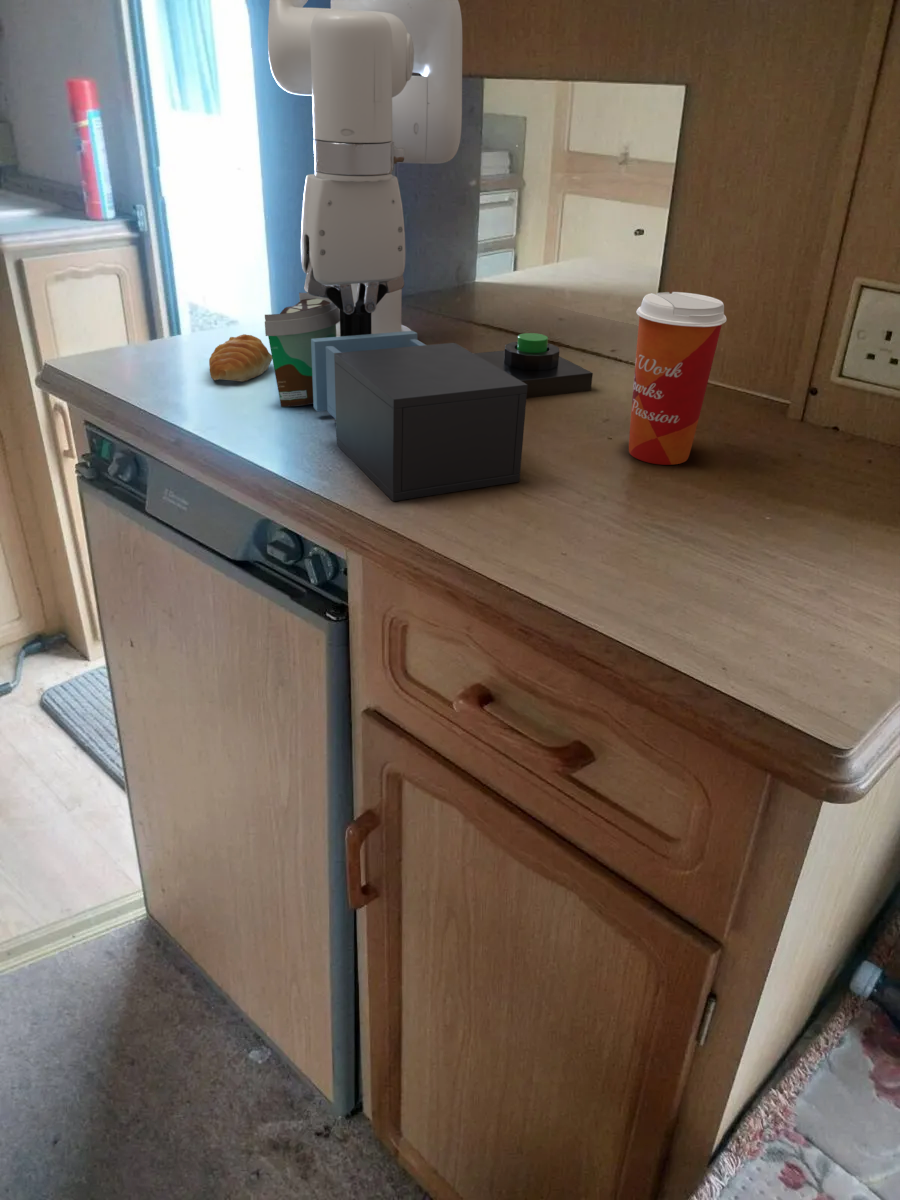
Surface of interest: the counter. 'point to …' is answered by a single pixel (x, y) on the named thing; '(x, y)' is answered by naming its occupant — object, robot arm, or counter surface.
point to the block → (541, 370)
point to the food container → (299, 344)
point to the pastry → (239, 359)
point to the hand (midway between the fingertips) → (356, 347)
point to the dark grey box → (429, 419)
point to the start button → (532, 343)
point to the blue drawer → (328, 346)
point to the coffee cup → (672, 373)
